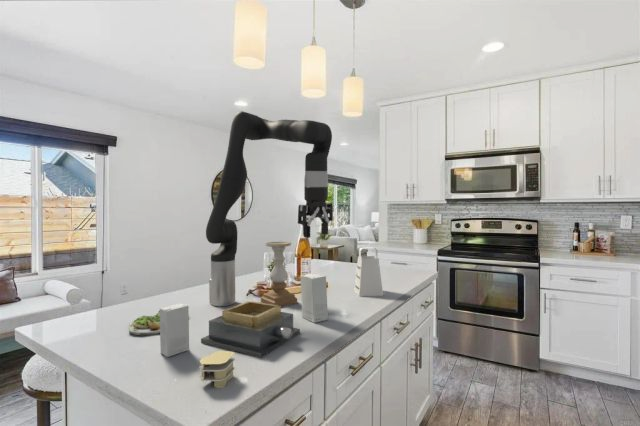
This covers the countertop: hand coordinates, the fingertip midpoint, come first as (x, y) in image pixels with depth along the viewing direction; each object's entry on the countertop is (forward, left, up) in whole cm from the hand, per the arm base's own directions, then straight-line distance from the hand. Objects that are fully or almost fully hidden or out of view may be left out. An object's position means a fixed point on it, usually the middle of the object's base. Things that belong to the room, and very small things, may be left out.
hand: (316, 235), depth 109 cm
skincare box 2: (-3, +4, -29) cm, 29 cm away
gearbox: (-10, -19, -29) cm, 36 cm away
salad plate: (-45, -24, -29) cm, 59 cm away
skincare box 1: (-23, -36, -29) cm, 51 cm away
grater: (+2, +45, -29) cm, 54 cm away
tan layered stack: (-2, -42, -29) cm, 51 cm away
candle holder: (-25, +15, -29) cm, 41 cm away
